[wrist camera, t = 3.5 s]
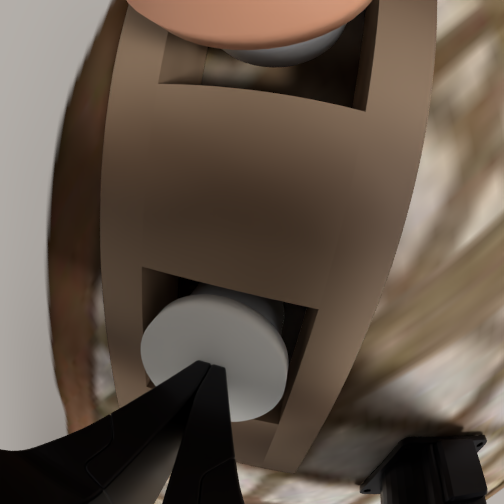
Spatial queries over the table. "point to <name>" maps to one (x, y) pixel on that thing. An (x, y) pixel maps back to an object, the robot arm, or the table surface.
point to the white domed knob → (223, 345)
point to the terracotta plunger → (256, 26)
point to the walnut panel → (261, 204)
